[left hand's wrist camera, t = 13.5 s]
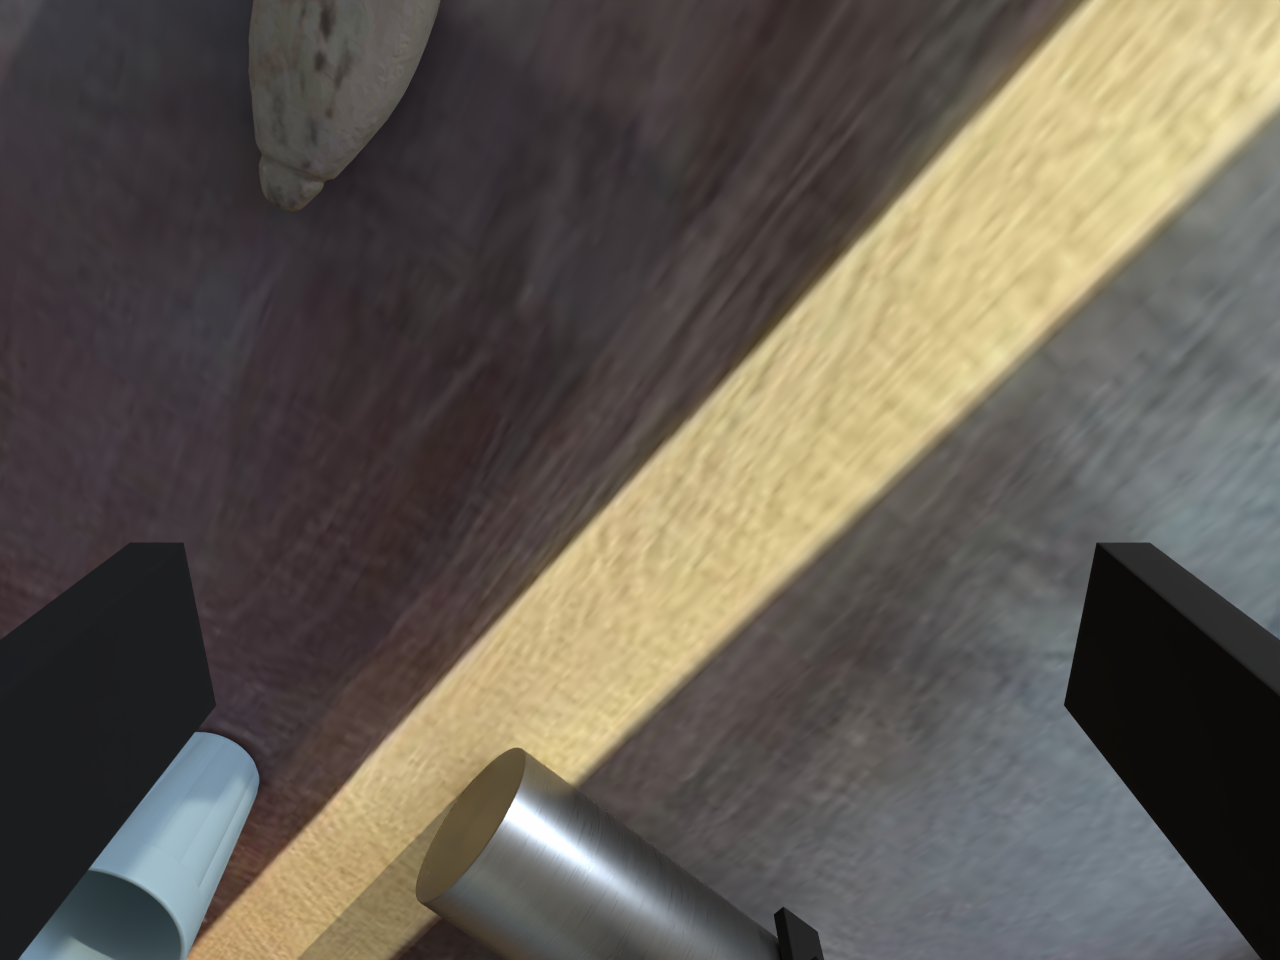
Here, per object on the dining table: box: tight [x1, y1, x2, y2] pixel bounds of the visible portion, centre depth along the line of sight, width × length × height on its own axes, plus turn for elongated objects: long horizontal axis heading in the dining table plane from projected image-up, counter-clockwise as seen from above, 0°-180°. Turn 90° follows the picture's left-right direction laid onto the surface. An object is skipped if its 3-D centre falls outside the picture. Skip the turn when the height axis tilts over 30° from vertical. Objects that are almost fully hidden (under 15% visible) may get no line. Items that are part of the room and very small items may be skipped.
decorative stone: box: [248, 0, 440, 212], centre depth 32 cm, size 6×16×3 cm, turn 155°
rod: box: [416, 748, 782, 960], centre depth 45 cm, size 22×8×8 cm, turn 48°
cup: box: [18, 732, 259, 960], centre depth 41 cm, size 8×8×10 cm
